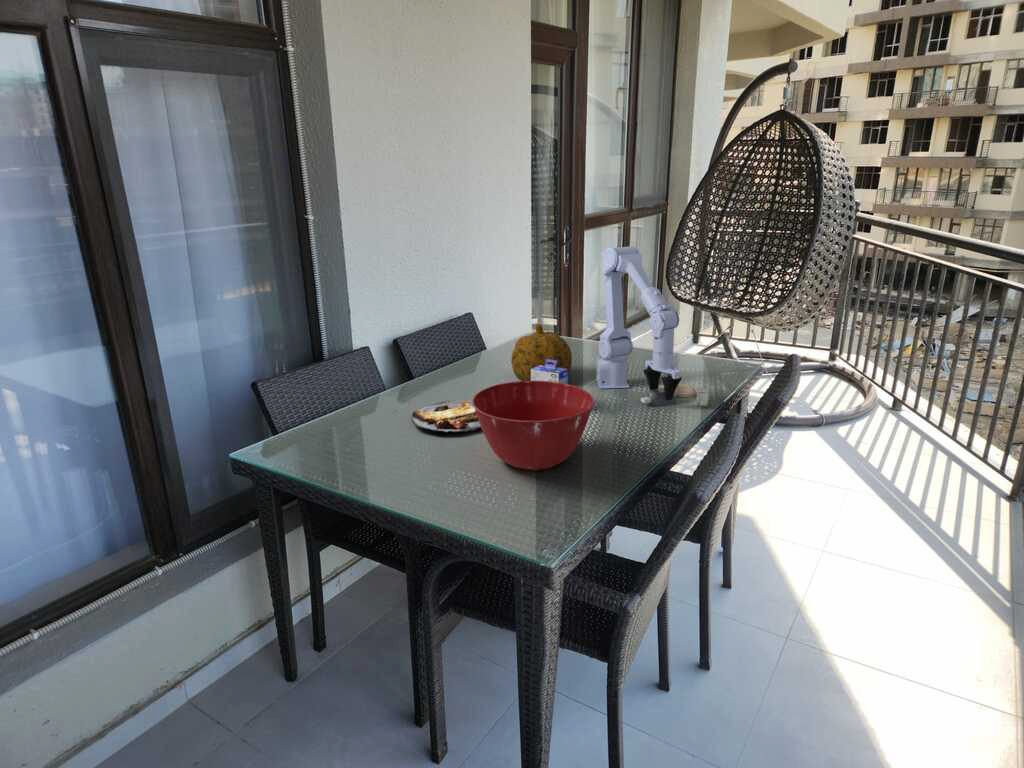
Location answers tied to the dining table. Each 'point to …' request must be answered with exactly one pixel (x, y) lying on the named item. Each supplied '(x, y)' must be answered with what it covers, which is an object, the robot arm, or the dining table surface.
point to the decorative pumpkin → (539, 352)
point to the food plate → (447, 416)
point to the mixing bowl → (533, 421)
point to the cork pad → (682, 391)
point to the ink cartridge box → (549, 373)
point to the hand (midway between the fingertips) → (661, 396)
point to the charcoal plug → (656, 398)
